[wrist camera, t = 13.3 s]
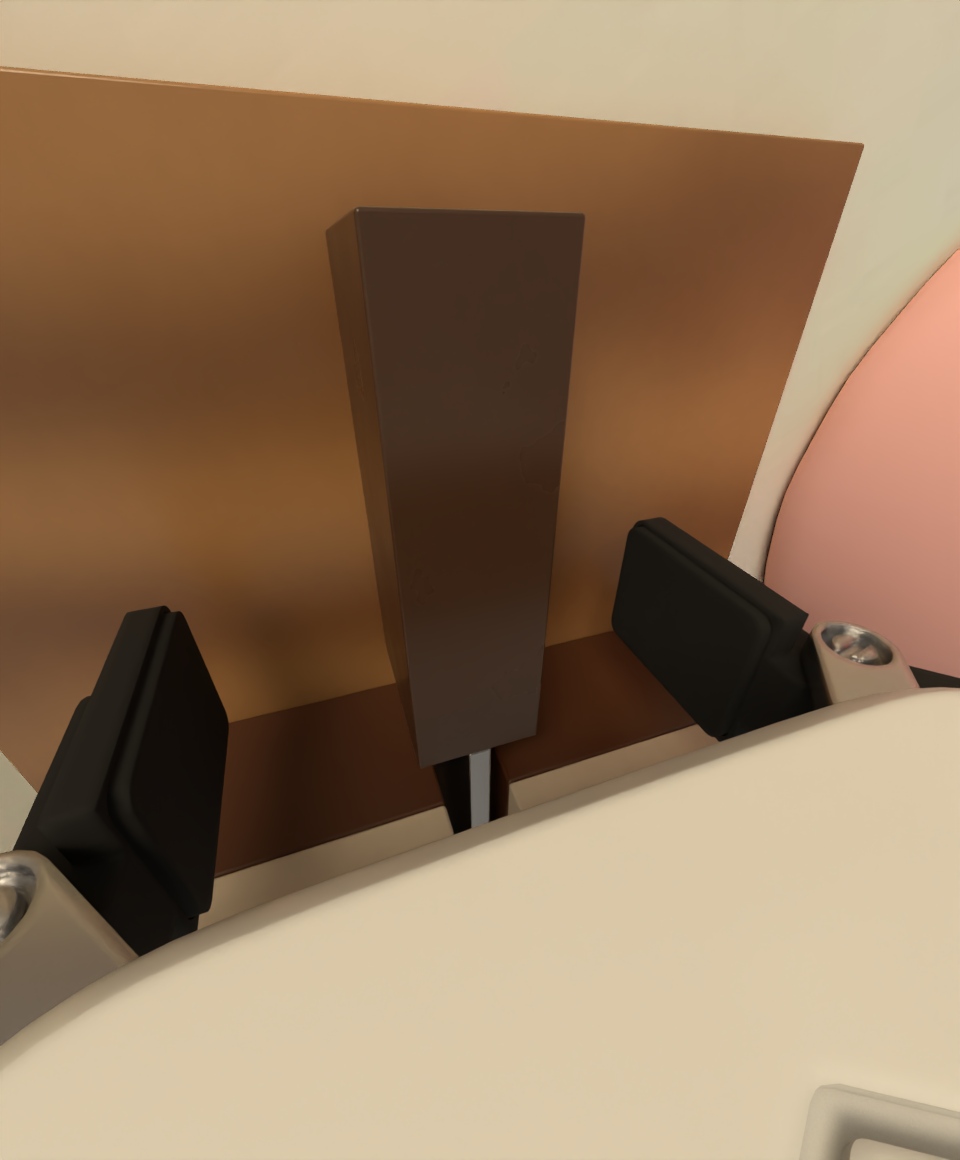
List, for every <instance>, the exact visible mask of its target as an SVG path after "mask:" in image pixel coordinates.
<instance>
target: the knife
mask: <svg viewBox="0 0 960 1160" xmlns="http://www.w3.org/2000/svg"><path fill="white" fill-rule="evenodd" d="M585 219H586V218H585V214H583V213H582V212H551V211H516V210H481V209H446V208H411V207H376V206H357V207H355V208H353V209H352V210H351V211H350V212H348V213H347V214H346V215H344V216H343V217H342V218H340V219H339V220H338V221H336V222H335V223H334V224H333V225H331V226H330V227H329V228H327V229H326V232H325V233H326V240H327V247H328V254H329V261H330V268H331V274H332V281H333V288H334V295H335V302H336V309H337V315H338V322H339V329H340V336H341V343H342V350H343V356H344V363H345V370H346V377H347V384H348V390H349V397H350V404H351V411H352V418H353V425H354V431H355V438H356V445H357V452H358V459H359V466H360V472H361V479H362V486H363V493H364V500H365V507H366V513H367V520H368V527H369V534H370V541H371V548H372V554H373V561H374V568H375V575H376V582H377V589H378V595H379V602H380V609H381V616H382V623H383V630H384V636H385V643H386V648H387V651H388V655H389V659H390V663H391V666H392V670H393V674H394V677H395V681H396V685H397V688H398V692H399V696H400V699H401V703H402V707H403V710H404V714H405V718H406V721H407V725H408V729H409V733H410V736H411V740H412V744H413V747H414V751H415V755H416V758H417V762H418V766H419V767H420V768H425V767H428V766H432V765H435V764H436V766H437V778H438V782H439V786H440V789H441V792H442V795H443V799H444V803H445V808H446V809H447V812H448V816H449V819H450V822H451V826H452V829H453V832H454V834H457V833H460V832H463V831H466V830H468V829H471V828H474V827H477V826H480V825H483V824H485V823H488V822H490V768H491V748H493V747H496V746H499V745H503V744H506V743H510V742H513V741H516V740H520V739H523V738H527V737H530V736H533V735H536V733H537V723H538V712H539V702H540V691H541V681H542V670H543V660H544V649H545V639H546V628H547V618H548V607H549V597H550V586H551V576H552V565H553V555H554V544H555V534H556V523H557V513H558V502H559V492H560V481H561V471H562V460H563V450H564V439H565V429H566V418H567V408H568V397H569V387H570V376H571V366H572V355H573V345H574V334H575V324H576V313H577V303H578V292H579V282H580V271H581V261H582V250H583V240H584V229H585Z"/></svg>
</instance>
